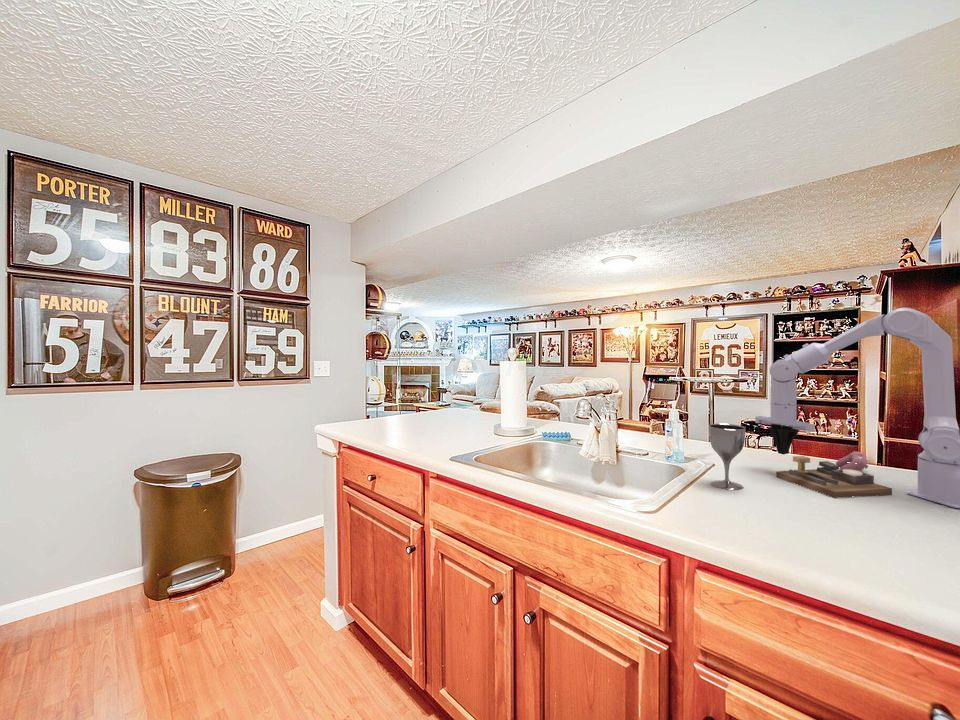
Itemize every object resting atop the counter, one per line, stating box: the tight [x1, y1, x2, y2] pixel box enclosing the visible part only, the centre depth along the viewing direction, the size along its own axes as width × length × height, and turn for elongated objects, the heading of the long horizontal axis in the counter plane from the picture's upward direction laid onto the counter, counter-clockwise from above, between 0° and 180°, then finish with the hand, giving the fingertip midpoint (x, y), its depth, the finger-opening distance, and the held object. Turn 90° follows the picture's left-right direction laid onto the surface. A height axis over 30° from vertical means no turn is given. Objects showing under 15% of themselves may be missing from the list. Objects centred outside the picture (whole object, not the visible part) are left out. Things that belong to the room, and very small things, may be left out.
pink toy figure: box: [835, 450, 869, 472], centre depth 112 cm, size 10×5×7 cm, turn 144°
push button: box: [843, 469, 862, 476], centre depth 100 cm, size 4×4×2 cm
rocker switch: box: [818, 460, 840, 470], centre depth 107 cm, size 3×2×1 cm
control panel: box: [775, 466, 893, 499], centre depth 102 cm, size 16×15×4 cm
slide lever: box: [792, 455, 811, 475], centre depth 105 cm, size 2×3×4 cm
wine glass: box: [708, 423, 746, 491], centre depth 103 cm, size 8×8×15 cm
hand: (783, 453), depth 111 cm, fingers closed
